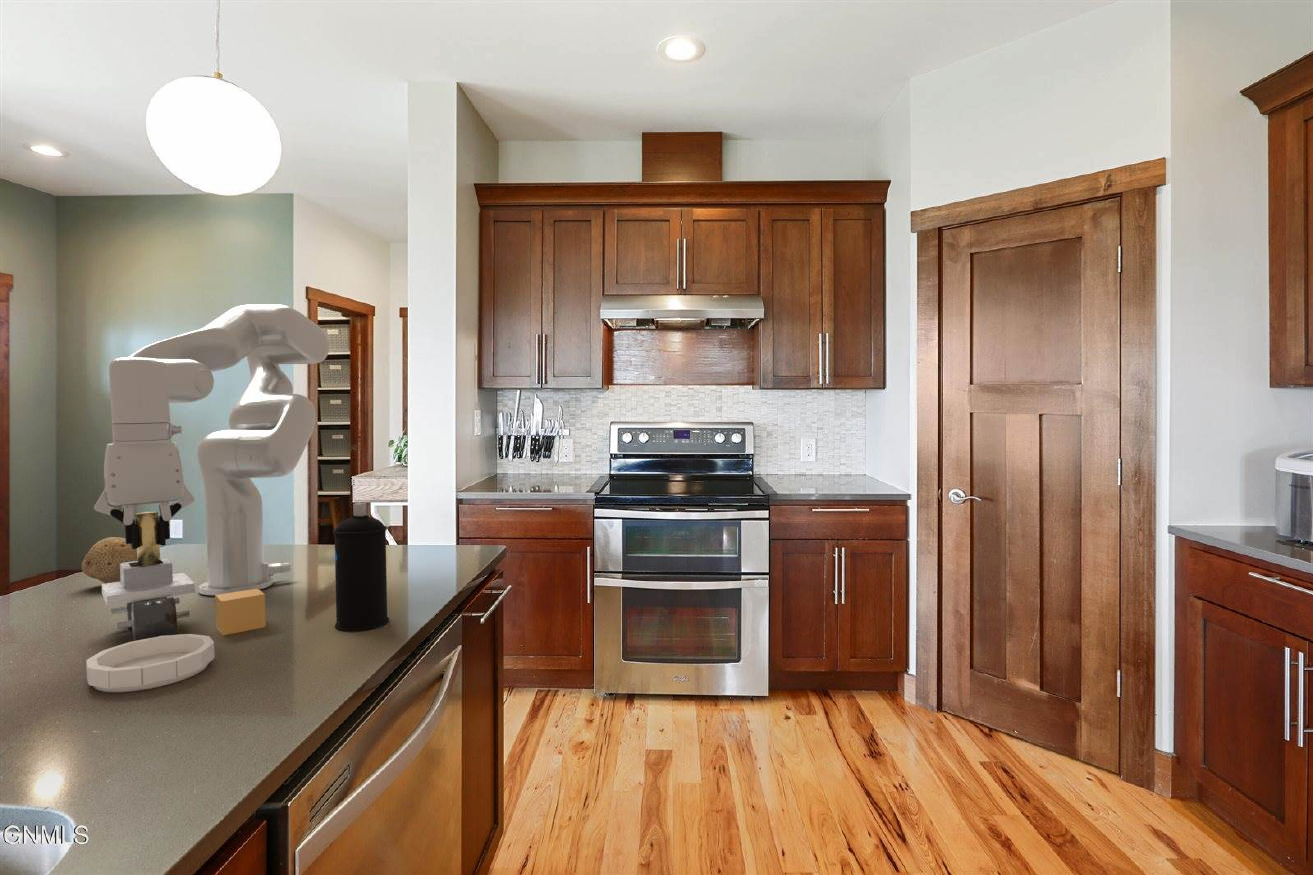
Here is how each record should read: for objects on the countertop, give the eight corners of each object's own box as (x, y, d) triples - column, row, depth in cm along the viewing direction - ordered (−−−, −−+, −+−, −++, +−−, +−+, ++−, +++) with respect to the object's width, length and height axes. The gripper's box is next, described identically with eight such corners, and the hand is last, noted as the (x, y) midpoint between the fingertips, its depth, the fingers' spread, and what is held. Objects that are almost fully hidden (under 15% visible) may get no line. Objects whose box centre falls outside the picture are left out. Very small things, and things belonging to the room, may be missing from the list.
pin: (159, 564, 112) (156, 510, 111) (162, 567, 110) (159, 513, 109) (137, 567, 110) (134, 513, 109) (139, 570, 107) (136, 515, 107)
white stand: (183, 613, 117) (182, 553, 116) (200, 635, 105) (198, 569, 105) (102, 627, 109) (100, 563, 109) (110, 652, 97) (108, 581, 97)
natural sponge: (77, 594, 129) (75, 543, 129) (89, 584, 137) (87, 535, 137) (136, 587, 134) (134, 538, 134) (144, 578, 142) (142, 531, 141)
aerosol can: (399, 619, 113) (397, 501, 112) (363, 634, 105) (361, 508, 104) (361, 614, 115) (358, 499, 115) (323, 629, 108) (320, 505, 107)
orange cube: (258, 620, 113) (257, 588, 112) (265, 627, 109) (264, 594, 109) (216, 628, 109) (215, 595, 108) (222, 636, 105) (221, 601, 105)
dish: (203, 648, 99) (202, 628, 99) (222, 673, 89) (221, 651, 89) (84, 672, 90) (83, 650, 90) (91, 703, 80) (90, 679, 80)
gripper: (198, 431, 117) (203, 535, 118) (74, 435, 105) (81, 550, 107) (206, 433, 111) (211, 542, 112) (77, 437, 100) (84, 558, 101)
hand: (148, 544), depth 109 cm, fingers closed on pin, 3 cm apart
